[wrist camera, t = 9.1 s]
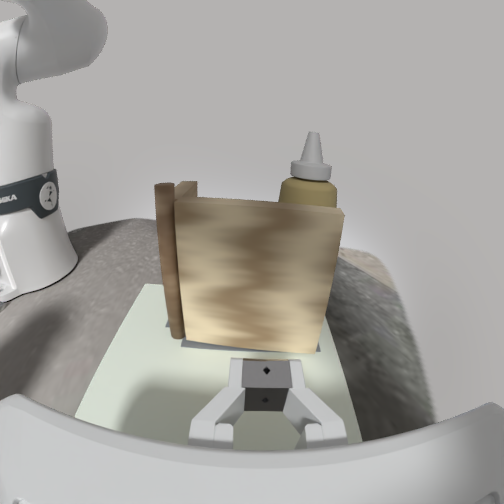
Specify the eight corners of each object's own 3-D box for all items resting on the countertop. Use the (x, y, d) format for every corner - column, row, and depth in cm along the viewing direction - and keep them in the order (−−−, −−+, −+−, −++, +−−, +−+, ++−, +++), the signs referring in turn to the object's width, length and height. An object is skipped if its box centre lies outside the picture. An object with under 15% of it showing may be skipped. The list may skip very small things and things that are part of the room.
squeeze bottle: (315, 298, 31) (337, 134, 23) (256, 277, 35) (264, 127, 27) (337, 271, 37) (356, 138, 30) (286, 255, 41) (296, 130, 33)
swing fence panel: (168, 338, 23) (150, 186, 17) (174, 327, 24) (159, 182, 19) (314, 355, 22) (346, 199, 16) (313, 343, 23) (342, 194, 18)
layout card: (71, 436, 13) (52, 414, 11) (146, 287, 31) (142, 265, 30) (363, 461, 13) (381, 443, 12) (316, 296, 31) (320, 273, 30)
